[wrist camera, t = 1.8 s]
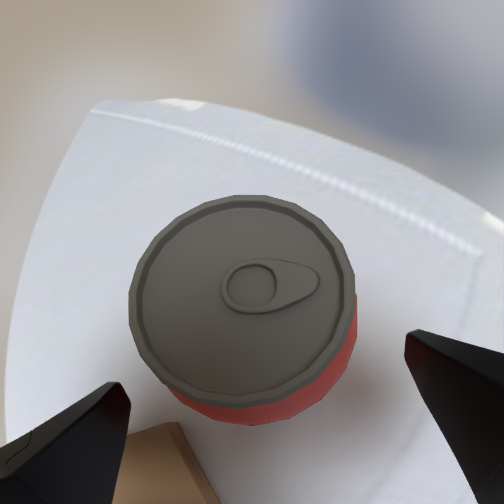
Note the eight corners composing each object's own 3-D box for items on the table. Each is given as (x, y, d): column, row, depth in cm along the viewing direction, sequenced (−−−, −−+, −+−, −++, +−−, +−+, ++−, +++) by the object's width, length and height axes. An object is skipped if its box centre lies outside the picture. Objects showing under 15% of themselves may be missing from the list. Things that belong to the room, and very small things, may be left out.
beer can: (327, 409, 15) (399, 412, 4) (218, 416, 15) (98, 417, 5) (317, 309, 18) (345, 169, 8) (217, 317, 19) (132, 195, 8)
